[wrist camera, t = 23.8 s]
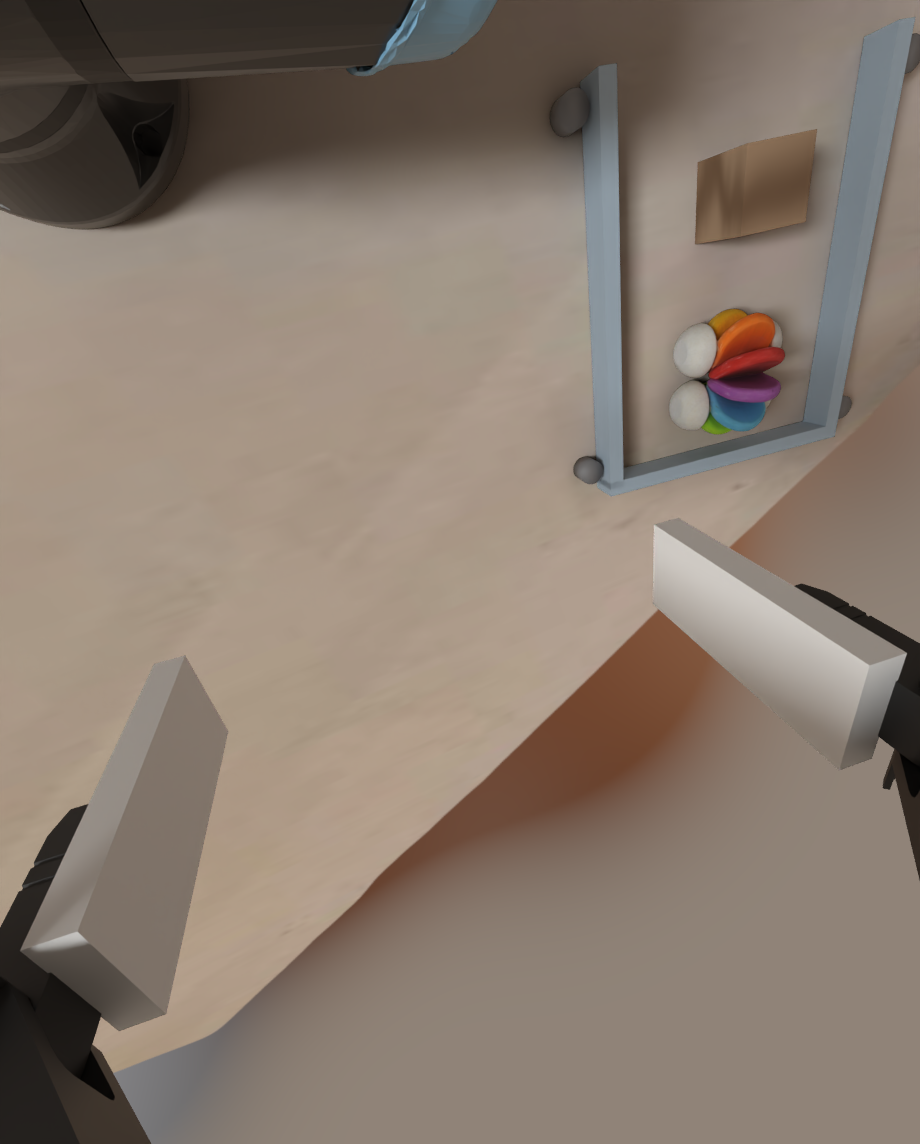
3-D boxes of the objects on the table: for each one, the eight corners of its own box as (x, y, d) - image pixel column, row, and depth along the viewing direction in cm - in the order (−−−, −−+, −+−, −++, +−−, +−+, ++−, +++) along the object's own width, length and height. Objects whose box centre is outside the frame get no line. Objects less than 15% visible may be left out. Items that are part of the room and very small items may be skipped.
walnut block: (697, 162, 36) (747, 143, 32) (759, 149, 37) (816, 129, 33) (694, 244, 39) (740, 236, 35) (752, 231, 39) (805, 221, 35)
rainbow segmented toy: (760, 302, 42) (837, 302, 36) (741, 421, 47) (806, 438, 41) (668, 315, 41) (731, 317, 35) (658, 436, 46) (712, 456, 39)
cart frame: (548, 86, 32) (564, 71, 30) (906, 30, 36) (943, 12, 33) (575, 493, 46) (587, 502, 44) (831, 425, 49) (855, 430, 47)
